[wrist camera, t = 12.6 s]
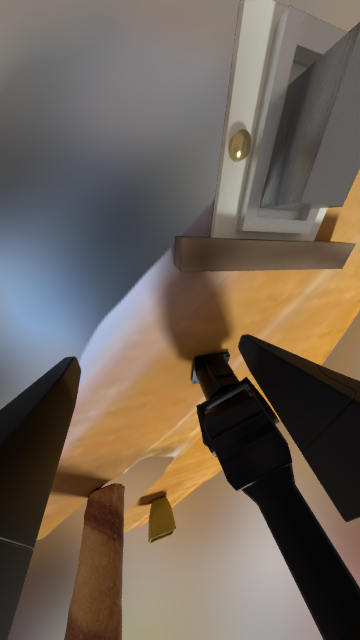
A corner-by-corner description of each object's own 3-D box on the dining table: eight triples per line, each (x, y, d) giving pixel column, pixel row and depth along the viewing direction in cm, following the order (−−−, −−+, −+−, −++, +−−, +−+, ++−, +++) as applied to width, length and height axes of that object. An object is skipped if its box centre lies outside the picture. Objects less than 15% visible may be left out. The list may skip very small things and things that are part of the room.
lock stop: (293, 210, 18) (342, 206, 14) (259, 207, 17) (300, 202, 13) (330, 98, 14) (416, 44, 10) (288, 85, 13) (363, 18, 9)
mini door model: (308, 240, 21) (323, 242, 19) (210, 237, 18) (218, 238, 16) (380, 62, 14) (413, 41, 12) (239, 2, 11) (258, -38, 9)
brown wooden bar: (320, 263, 24) (342, 268, 21) (174, 265, 18) (181, 272, 16) (330, 241, 22) (355, 243, 20) (175, 236, 17) (182, 238, 14)
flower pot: (168, 500, 66) (172, 535, 59) (146, 506, 63) (148, 544, 56) (171, 492, 62) (176, 529, 55) (148, 499, 59) (150, 539, 52)
